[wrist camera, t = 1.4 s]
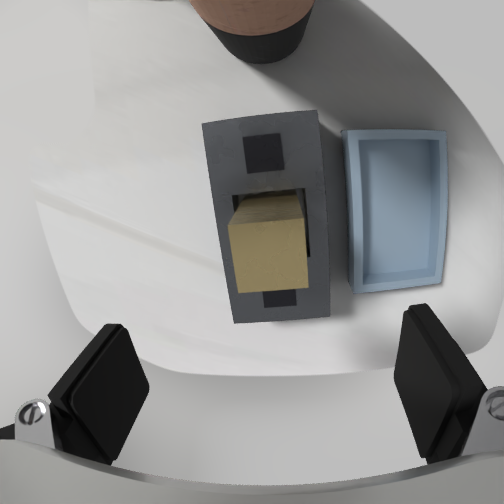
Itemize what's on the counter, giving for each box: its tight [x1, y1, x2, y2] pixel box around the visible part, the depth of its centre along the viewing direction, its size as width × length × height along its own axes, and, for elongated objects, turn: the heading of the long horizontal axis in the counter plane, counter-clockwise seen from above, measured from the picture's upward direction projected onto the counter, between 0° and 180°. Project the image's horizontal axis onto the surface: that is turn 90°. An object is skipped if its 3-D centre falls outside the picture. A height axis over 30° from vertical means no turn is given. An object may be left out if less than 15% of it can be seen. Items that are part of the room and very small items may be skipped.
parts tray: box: [341, 129, 448, 294], centre depth 25 cm, size 14×9×2 cm, turn 7°
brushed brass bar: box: [228, 190, 309, 293], centre depth 21 cm, size 4×4×9 cm
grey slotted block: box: [202, 110, 330, 324], centre depth 25 cm, size 16×8×5 cm, turn 7°
